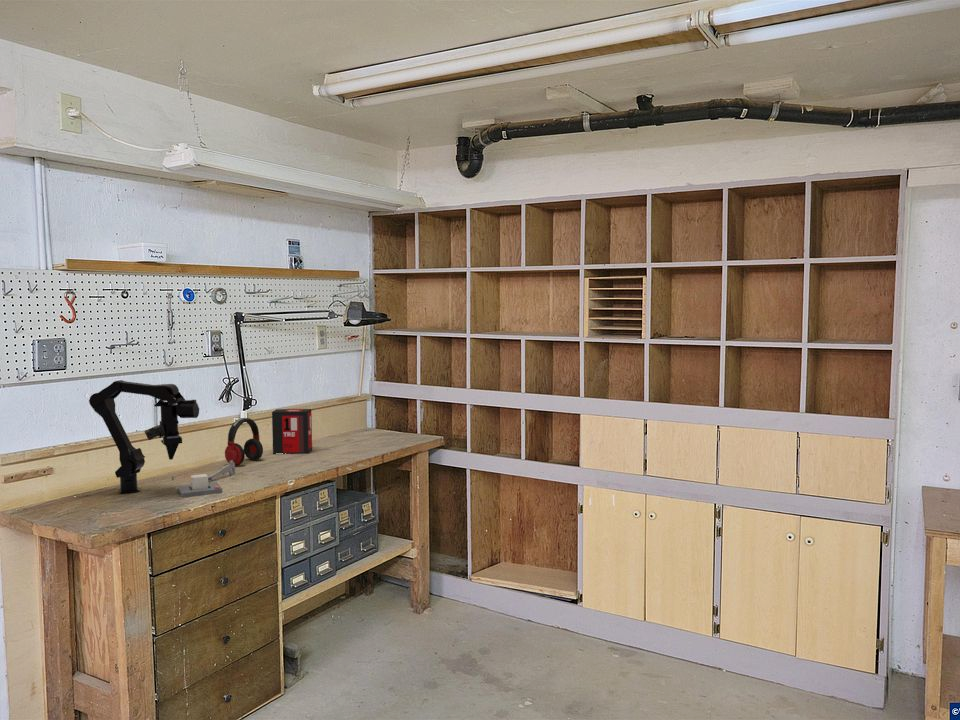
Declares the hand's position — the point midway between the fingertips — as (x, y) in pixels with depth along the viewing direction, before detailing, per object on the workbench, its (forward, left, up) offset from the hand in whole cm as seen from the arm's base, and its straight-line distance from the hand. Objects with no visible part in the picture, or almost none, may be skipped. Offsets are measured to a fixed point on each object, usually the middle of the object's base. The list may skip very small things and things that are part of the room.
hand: (170, 459), depth 271 cm
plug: (+6, +9, -12) cm, 16 cm away
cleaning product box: (-50, +59, -12) cm, 78 cm away
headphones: (-37, +34, -12) cm, 52 cm away
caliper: (-11, +18, -12) cm, 24 cm away
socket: (+6, +9, -12) cm, 16 cm away
